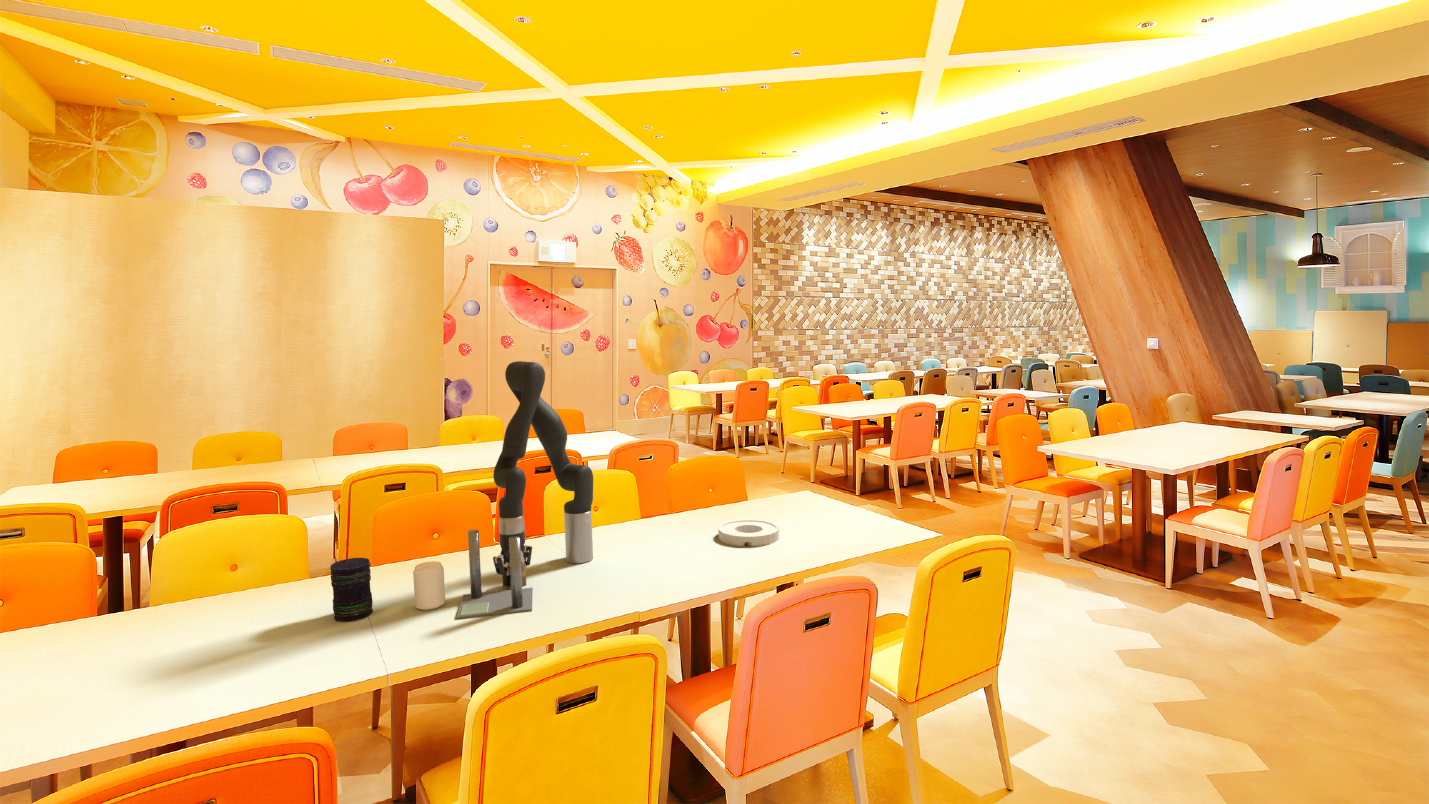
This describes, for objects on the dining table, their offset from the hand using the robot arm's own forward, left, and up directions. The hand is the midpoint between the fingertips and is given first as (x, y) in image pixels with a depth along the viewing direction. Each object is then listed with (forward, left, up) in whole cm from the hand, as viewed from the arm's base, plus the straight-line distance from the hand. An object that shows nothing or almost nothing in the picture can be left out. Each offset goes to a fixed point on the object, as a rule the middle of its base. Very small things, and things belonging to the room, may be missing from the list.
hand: (514, 583), depth 210 cm
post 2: (+18, +1, 0) cm, 19 cm away
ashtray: (-28, +85, -1) cm, 89 cm away
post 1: (+7, -11, 0) cm, 13 cm away
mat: (+13, -5, -1) cm, 14 cm away
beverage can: (+9, -23, -1) cm, 25 cm away
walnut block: (0, 0, -1) cm, 1 cm away
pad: (+17, -10, 0) cm, 20 cm away
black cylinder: (+10, -43, -1) cm, 44 cm away
